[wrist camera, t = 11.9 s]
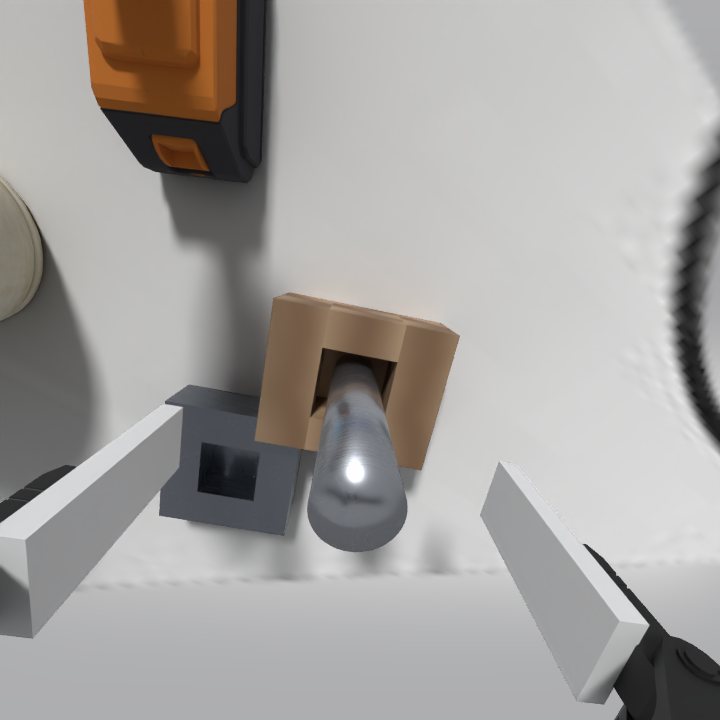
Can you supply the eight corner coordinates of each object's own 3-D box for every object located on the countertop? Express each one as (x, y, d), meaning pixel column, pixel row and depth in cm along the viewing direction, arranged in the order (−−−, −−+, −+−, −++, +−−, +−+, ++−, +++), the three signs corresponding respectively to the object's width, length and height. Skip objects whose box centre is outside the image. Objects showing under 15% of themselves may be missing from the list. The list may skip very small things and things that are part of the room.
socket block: (181, 487, 30) (159, 515, 27) (189, 384, 28) (165, 401, 24) (291, 506, 31) (283, 535, 27) (309, 406, 28) (302, 425, 25)
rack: (272, 411, 28) (254, 440, 23) (289, 292, 26) (273, 298, 21) (410, 436, 29) (421, 470, 24) (441, 323, 26) (459, 335, 22)
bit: (329, 388, 26) (300, 544, 11) (337, 349, 26) (316, 457, 10) (369, 395, 27) (395, 558, 11) (377, 357, 26) (417, 474, 10)
